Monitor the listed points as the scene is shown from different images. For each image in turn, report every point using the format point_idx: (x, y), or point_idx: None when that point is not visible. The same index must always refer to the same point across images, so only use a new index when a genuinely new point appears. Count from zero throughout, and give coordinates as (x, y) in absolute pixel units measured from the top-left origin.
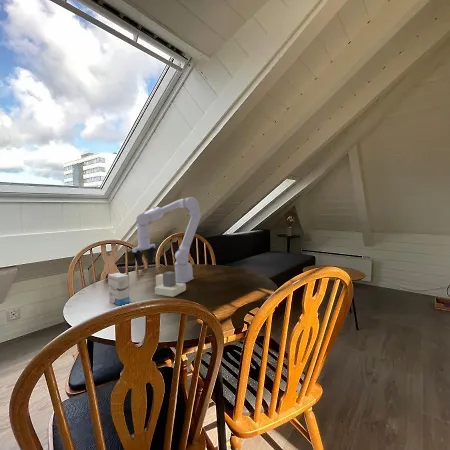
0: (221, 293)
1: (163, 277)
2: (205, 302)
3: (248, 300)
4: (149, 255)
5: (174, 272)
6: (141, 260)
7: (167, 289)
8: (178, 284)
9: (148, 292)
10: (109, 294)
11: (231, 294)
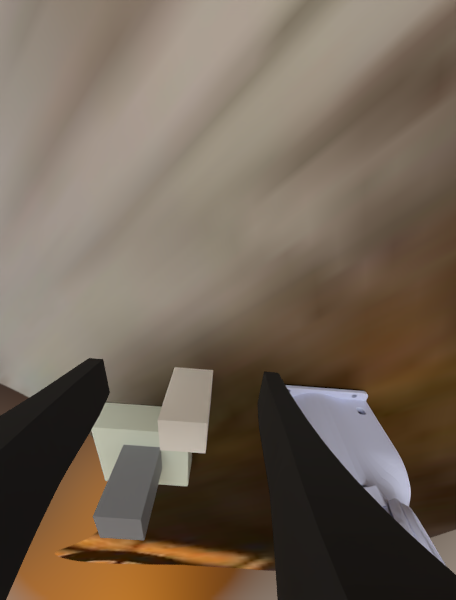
0: (201, 522)
1: (104, 491)
2: None
3: (178, 555)
4: (282, 477)
5: (137, 539)
6: (62, 458)
7: (101, 466)
8: (170, 472)
9: (106, 372)
10: None
11: (202, 535)
